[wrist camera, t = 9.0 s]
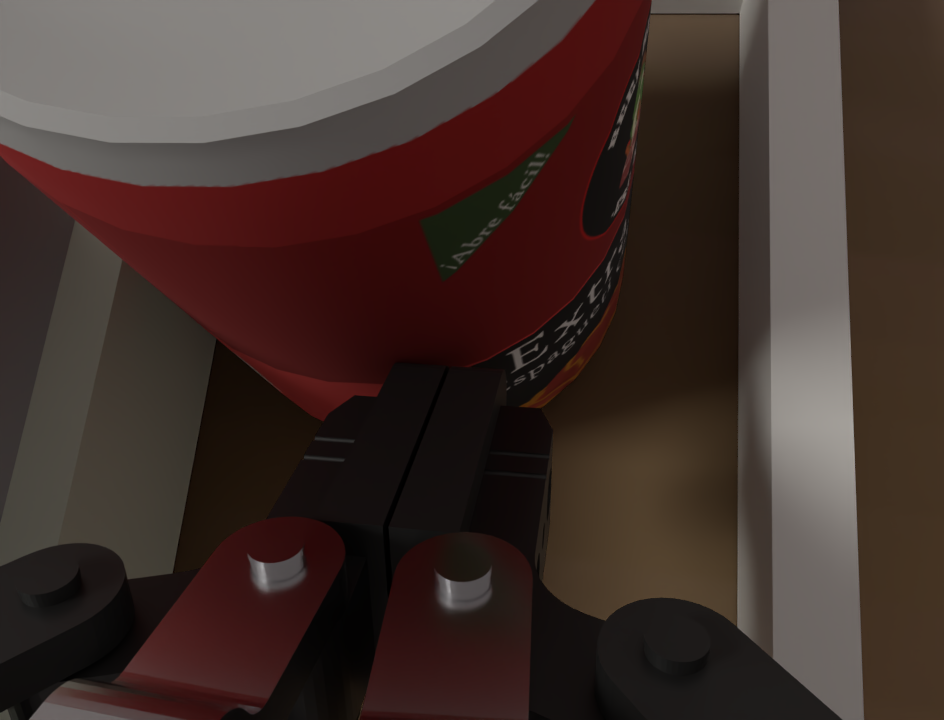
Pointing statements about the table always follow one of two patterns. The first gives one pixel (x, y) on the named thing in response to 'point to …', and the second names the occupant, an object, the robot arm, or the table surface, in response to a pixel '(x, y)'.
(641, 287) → the table surface
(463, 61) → the canned food
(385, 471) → the robot arm
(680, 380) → the table surface
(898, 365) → the table surface
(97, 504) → the white open tray
